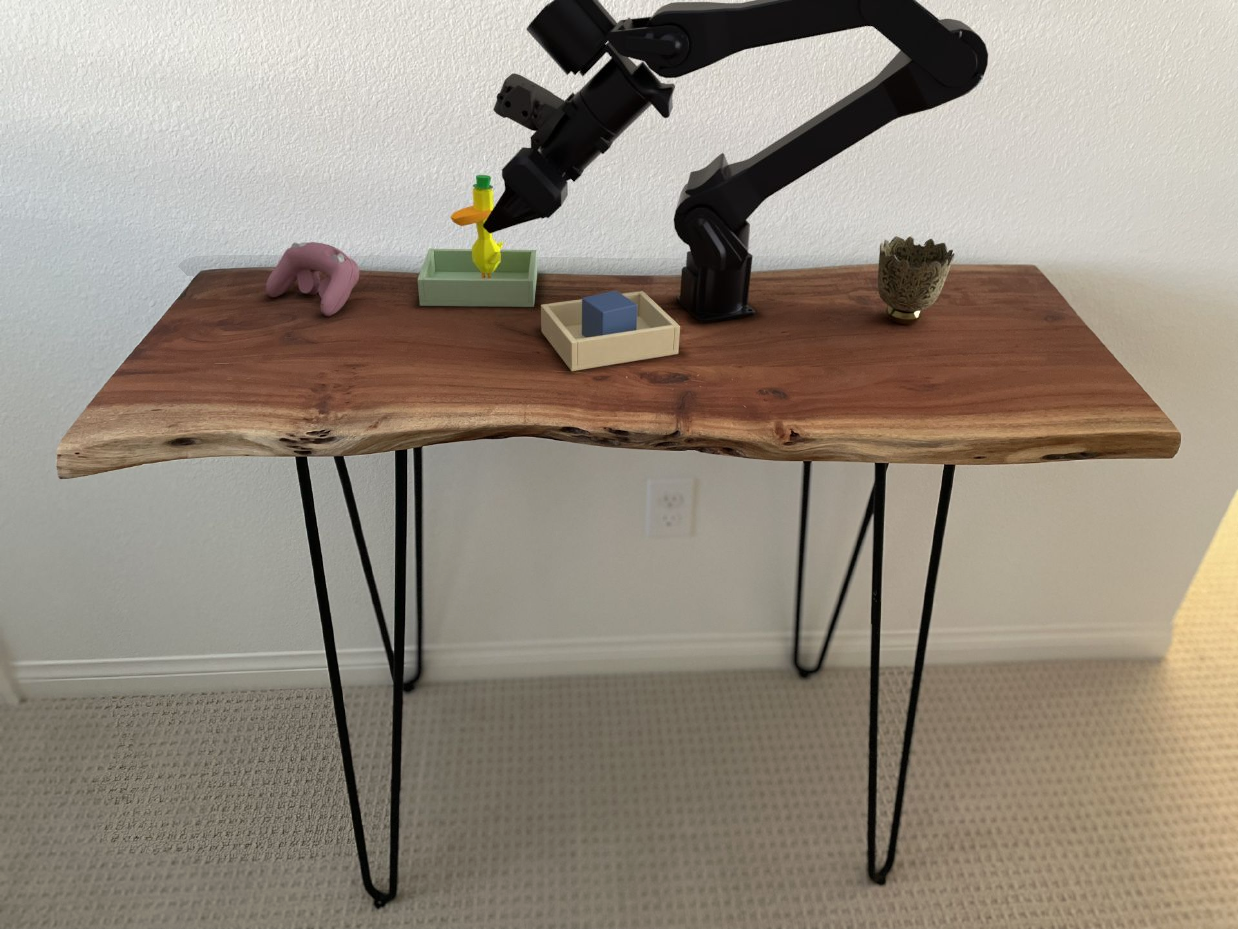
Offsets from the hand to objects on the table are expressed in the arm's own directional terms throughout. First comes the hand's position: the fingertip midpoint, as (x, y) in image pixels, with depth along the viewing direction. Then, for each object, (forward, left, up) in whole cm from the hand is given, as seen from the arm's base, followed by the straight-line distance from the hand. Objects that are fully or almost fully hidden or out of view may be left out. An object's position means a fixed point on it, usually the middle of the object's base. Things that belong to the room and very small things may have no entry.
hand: (497, 215), depth 99 cm
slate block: (-7, +16, -8) cm, 19 cm away
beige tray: (-7, +16, -9) cm, 19 cm away
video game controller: (+19, -4, -9) cm, 22 cm away
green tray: (+2, -1, -9) cm, 9 cm away
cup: (-39, +21, -9) cm, 45 cm away
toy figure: (+2, -1, -8) cm, 9 cm away
